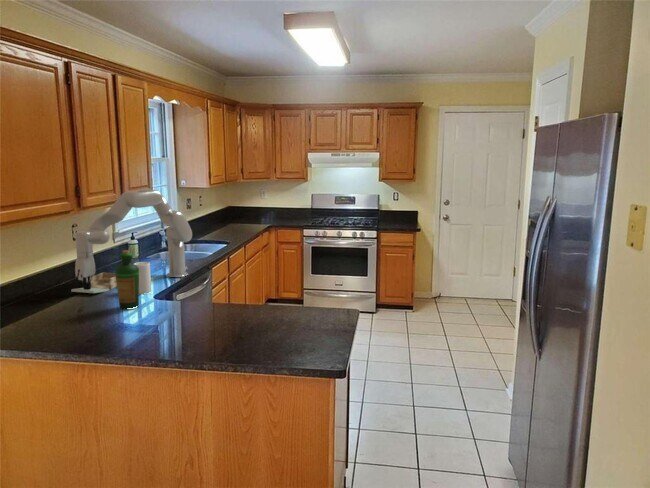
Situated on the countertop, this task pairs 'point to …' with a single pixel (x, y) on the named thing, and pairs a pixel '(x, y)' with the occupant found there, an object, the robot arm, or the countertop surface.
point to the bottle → (127, 282)
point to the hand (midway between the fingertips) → (87, 289)
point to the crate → (104, 281)
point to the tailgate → (90, 290)
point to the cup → (144, 277)
